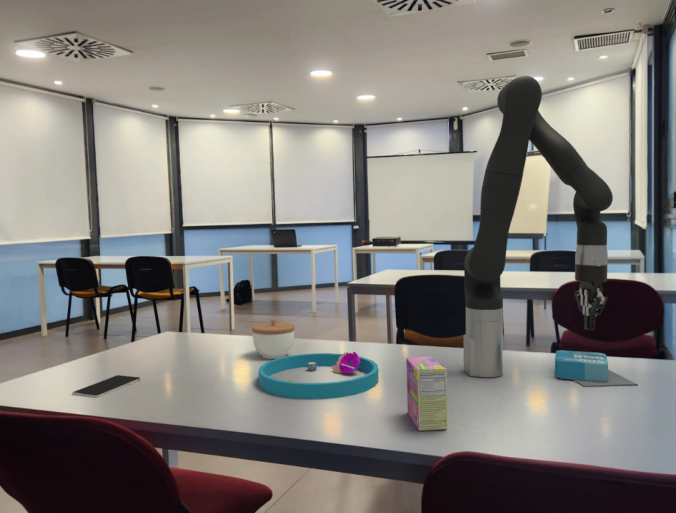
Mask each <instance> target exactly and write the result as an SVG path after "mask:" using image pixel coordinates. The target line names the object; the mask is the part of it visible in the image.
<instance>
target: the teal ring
mask: <svg viewBox="0 0 676 513" xmlns="http://www.w3.org/2000/svg"><path fill="white" fill-rule="evenodd" d="M318 367H331V370H332V372H333V373H334V374H338V375H340V374H345V375H349V374H352V373H353V372H355V371H356V370H357V371H361V372H364V373H366V374H364V375H362V376H359V377H355V378H350V379H345V380H339V381H329V382H299V381H297V382H296V381H292V379H288V380H283V379H278V378H275V377H272V376H273V375H275V374H278V373H281V372H285V371H288V370H293V369H299V368H301V369H302V368H307V370H308V371H310V372H314V371H316V370H317V369H318ZM378 383H379V365H378V363H376V362H375V361H374V360H372V359H369V358H367V357H363V356H359V354H358V353H357V352H356V351H353V352H348V351H346V352H343V353H332V352H331V353H330V352H329V353H328V352H327V353H326V352H325V353H323V352H320V353H319V352H317V353H316V352H315V353H303V354H302V353H300V354H295V355H286V356H285V357H282V358H278V359H271V360H269V361H266V362H265V363H263V364H262V365H260V366H259V368H258V384H259V387H260V388H261V390H263V391H264V392H266V393H270V394H272V395H274V396H278V397H283V398H289V399H298V400H299V399H300V400H328V399H337V398H339V399H340V398H346V397H350V396H356V395H359V394H363V393H365V392H368V391H370V390H371V389H373V388H375V387H376V386H377V385H378Z"/></svg>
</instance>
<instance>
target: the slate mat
mask: <svg viewBox="0 0 676 513" xmlns="http://www.w3.org/2000/svg"><path fill="white" fill-rule="evenodd" d="M572 381H573V382H574V383H577V384H578V385H580V386H582V387H583V388H585V387H586V388H590V387H596V388H597V387H620V386H621V387H623V386H638V383H637V382H634V381H632V380H630V379H628V378H626V377H624V376H623V375H620V374H618V373H616V372H615V371H612V370H611V369H608V381H607V382H595V381H584V380H572Z"/></svg>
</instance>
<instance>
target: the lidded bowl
mask: <svg viewBox="0 0 676 513" xmlns="http://www.w3.org/2000/svg"><path fill="white" fill-rule="evenodd" d="M295 329H296V327H295V325H294V324H293V323H290V322H283V321H281V322H280V321H278V322H276V319H274V318H273V319H271V321H270V322H263V323H258V324H254V325H253V326H252V327H251V331H252V339H253V345H254V348H255V350H256V352H257V353H258V354H259V355H261V358H263V359H269V360H274V359H278V358H282V357H287V354H288V353H289V352H290V351H291V349H292V348H293V346H294V340H295Z"/></svg>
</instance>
